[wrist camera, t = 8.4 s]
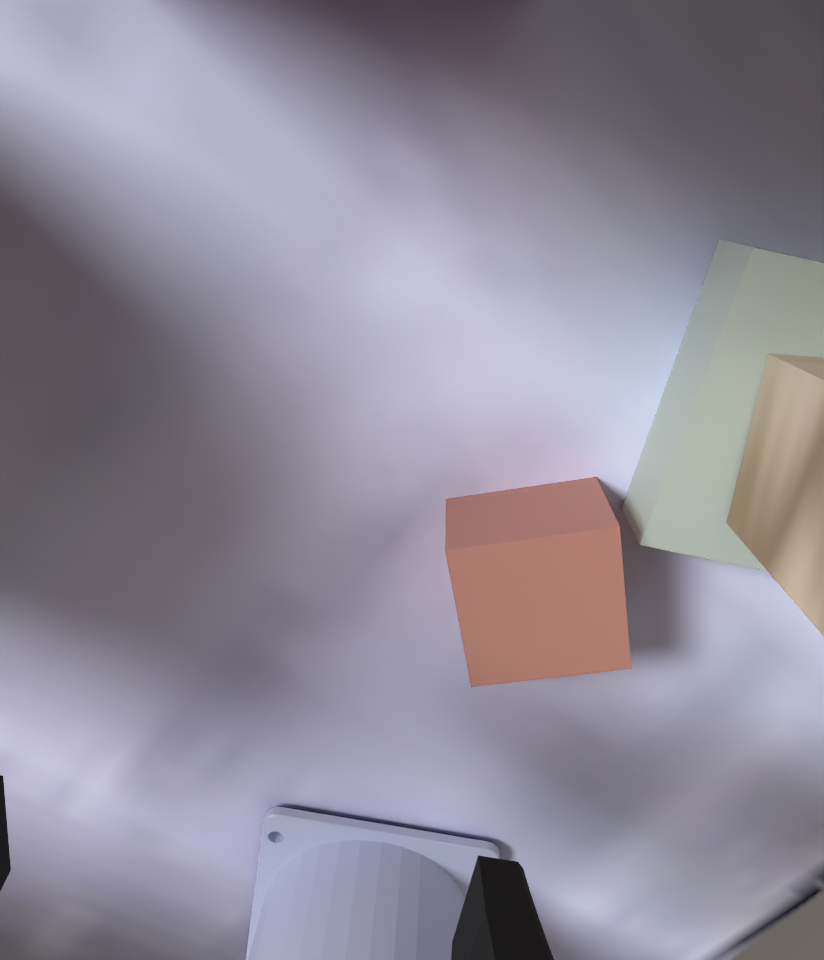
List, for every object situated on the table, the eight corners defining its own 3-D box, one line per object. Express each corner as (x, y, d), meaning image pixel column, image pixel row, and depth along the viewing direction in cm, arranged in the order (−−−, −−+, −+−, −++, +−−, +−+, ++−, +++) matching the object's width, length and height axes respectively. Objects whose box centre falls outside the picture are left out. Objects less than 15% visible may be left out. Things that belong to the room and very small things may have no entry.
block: (607, 601, 20) (631, 668, 18) (468, 618, 21) (471, 686, 18) (595, 474, 19) (620, 526, 16) (445, 496, 19) (445, 550, 17)
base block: (862, 552, 20) (916, 602, 17) (617, 501, 19) (639, 544, 17) (996, 300, 17) (1081, 320, 15) (711, 237, 17) (753, 247, 14)
